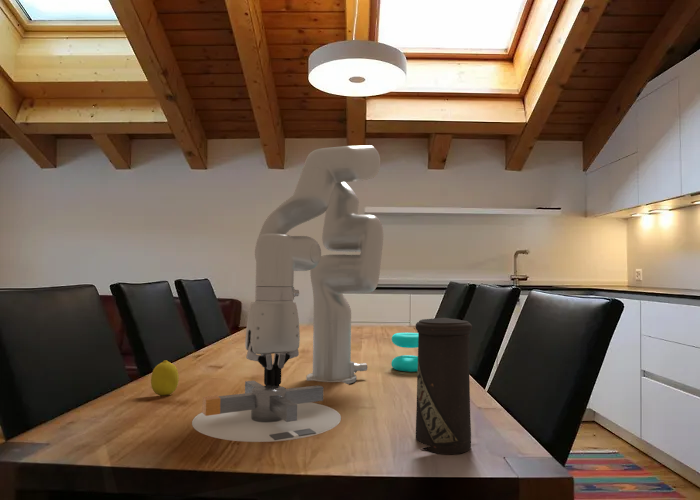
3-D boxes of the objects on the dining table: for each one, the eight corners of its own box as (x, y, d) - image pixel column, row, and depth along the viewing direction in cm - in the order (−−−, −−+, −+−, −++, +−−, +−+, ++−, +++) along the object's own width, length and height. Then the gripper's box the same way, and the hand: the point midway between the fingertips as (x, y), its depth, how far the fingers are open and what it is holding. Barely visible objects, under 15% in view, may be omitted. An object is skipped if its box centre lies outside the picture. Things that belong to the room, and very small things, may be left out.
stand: (304, 399, 108) (304, 393, 108) (368, 432, 85) (368, 425, 86) (177, 414, 95) (178, 407, 95) (214, 459, 73) (214, 450, 73)
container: (409, 437, 83) (410, 315, 84) (463, 436, 84) (463, 315, 85) (421, 456, 75) (422, 320, 76) (480, 455, 76) (480, 320, 76)
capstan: (298, 398, 105) (298, 373, 105) (348, 424, 86) (348, 395, 87) (189, 411, 94) (190, 384, 94) (221, 445, 76) (221, 411, 76)
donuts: (428, 332, 148) (425, 336, 139) (427, 367, 148) (425, 373, 138) (394, 331, 150) (389, 335, 141) (393, 365, 150) (389, 371, 140)
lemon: (169, 402, 104) (170, 363, 104) (144, 400, 105) (146, 361, 105) (183, 396, 109) (184, 358, 110) (159, 394, 110) (161, 357, 111)
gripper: (300, 294, 108) (298, 381, 107) (231, 295, 101) (229, 388, 100) (316, 296, 102) (314, 388, 101) (244, 296, 94) (242, 396, 93)
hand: (272, 388), depth 100 cm, fingers closed
